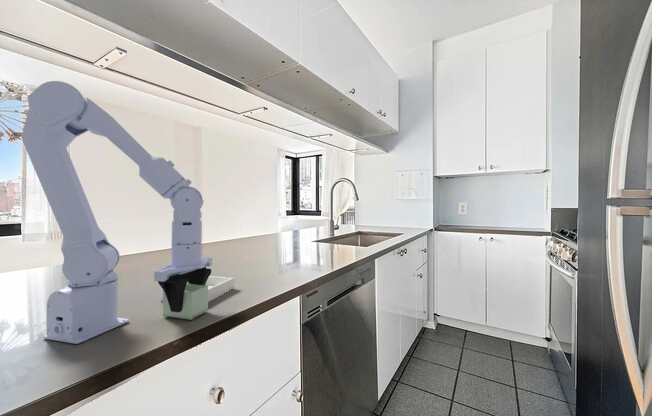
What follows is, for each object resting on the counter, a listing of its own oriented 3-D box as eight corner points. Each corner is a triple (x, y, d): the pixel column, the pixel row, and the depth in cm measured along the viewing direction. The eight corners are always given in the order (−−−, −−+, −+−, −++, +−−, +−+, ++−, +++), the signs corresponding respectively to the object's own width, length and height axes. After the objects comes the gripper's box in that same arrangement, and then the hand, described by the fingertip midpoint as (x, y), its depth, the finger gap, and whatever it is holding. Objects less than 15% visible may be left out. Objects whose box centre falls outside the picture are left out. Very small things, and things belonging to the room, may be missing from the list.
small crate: (191, 319, 56) (192, 292, 56) (162, 315, 57) (163, 289, 57) (207, 310, 60) (208, 285, 60) (180, 307, 62) (181, 283, 62)
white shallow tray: (200, 306, 64) (200, 293, 64) (160, 301, 66) (160, 289, 66) (234, 288, 77) (234, 277, 77) (200, 285, 80) (200, 275, 80)
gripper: (176, 248, 51) (175, 322, 51) (223, 239, 65) (222, 297, 65) (145, 246, 52) (144, 318, 52) (197, 238, 66) (197, 294, 67)
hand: (186, 306), depth 59 cm, fingers closed on small crate, 5 cm apart
